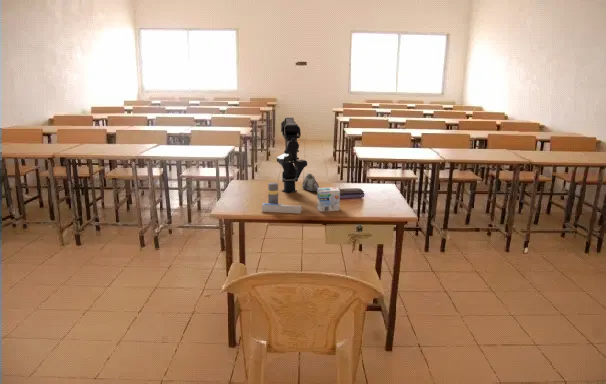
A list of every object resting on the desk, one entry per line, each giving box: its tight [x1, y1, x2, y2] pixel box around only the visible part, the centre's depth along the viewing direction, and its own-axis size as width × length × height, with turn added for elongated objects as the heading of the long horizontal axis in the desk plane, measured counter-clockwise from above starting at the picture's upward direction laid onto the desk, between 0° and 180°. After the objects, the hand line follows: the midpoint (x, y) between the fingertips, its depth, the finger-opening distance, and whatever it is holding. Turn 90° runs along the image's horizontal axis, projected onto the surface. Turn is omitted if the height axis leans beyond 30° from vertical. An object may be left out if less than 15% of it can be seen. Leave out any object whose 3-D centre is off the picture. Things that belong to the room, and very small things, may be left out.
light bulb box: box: [316, 186, 341, 212], centre depth 232 cm, size 11×7×11 cm, turn 101°
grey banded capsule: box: [267, 182, 279, 204], centre depth 232 cm, size 5×5×13 cm
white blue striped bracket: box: [261, 202, 303, 214], centre depth 229 cm, size 20×4×4 cm, turn 83°
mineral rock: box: [301, 173, 320, 193], centre depth 265 cm, size 13×11×10 cm
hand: (291, 176), depth 244 cm, fingers open, 9 cm apart
